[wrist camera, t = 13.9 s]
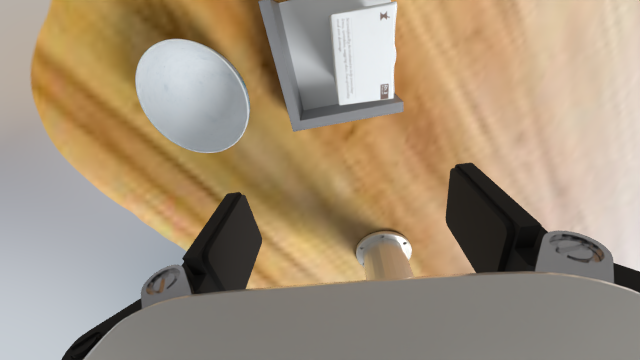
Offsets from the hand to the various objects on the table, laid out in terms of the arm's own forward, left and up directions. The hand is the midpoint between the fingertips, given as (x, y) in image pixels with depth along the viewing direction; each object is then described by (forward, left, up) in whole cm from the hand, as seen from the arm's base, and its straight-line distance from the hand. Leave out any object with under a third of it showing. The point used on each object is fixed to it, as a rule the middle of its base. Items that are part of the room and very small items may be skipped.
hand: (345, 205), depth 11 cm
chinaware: (+3, +19, -32) cm, 37 cm away
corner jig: (+4, -1, -31) cm, 32 cm away
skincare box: (+4, -3, -31) cm, 31 cm away
